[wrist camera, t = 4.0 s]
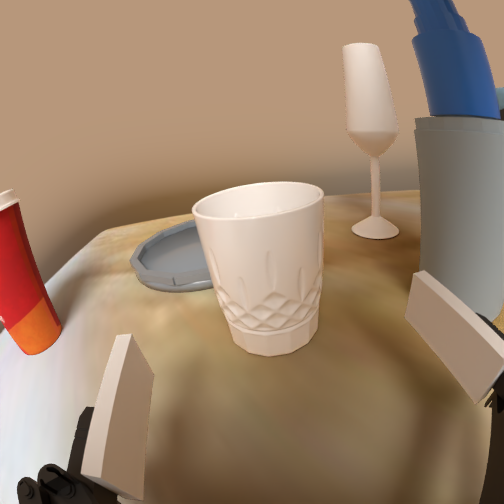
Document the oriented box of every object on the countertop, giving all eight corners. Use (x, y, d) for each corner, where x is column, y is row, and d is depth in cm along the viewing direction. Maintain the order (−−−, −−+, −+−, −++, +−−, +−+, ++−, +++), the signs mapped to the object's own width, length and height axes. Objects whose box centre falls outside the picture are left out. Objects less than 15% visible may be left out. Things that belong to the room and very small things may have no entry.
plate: (290, 226, 38) (289, 214, 37) (237, 303, 23) (233, 286, 23) (186, 225, 45) (183, 215, 44) (109, 281, 30) (104, 268, 30)
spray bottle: (402, 311, 19) (353, -17, 10) (431, 263, 24) (398, 19, 14) (498, 338, 12) (469, -35, 3) (504, 279, 17) (481, 12, 8)
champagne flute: (409, 231, 31) (397, 48, 21) (374, 243, 30) (357, 36, 20) (376, 217, 37) (362, 57, 27) (341, 227, 35) (323, 50, 26)
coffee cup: (28, 320, 24) (-19, 206, 17) (77, 309, 25) (30, 180, 19) (5, 366, 16) (-62, 231, 10) (58, 360, 18) (-15, 199, 11)
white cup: (203, 329, 21) (169, 208, 16) (272, 286, 25) (258, 178, 21) (275, 383, 15) (253, 229, 11) (345, 317, 20) (348, 187, 15)
